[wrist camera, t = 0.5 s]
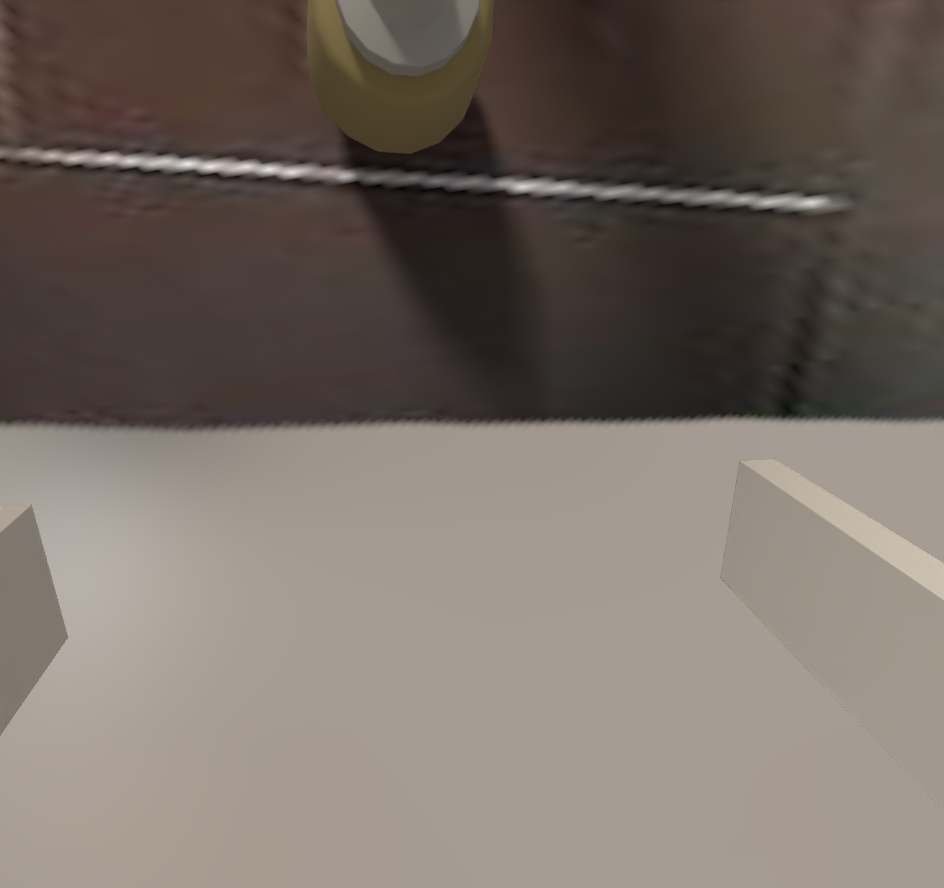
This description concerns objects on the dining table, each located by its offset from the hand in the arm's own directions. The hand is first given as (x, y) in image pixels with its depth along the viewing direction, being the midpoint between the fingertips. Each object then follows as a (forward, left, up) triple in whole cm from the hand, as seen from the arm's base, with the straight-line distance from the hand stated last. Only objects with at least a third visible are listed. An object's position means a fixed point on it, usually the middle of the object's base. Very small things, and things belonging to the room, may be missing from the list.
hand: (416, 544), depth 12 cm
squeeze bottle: (-13, +2, -27) cm, 30 cm away
